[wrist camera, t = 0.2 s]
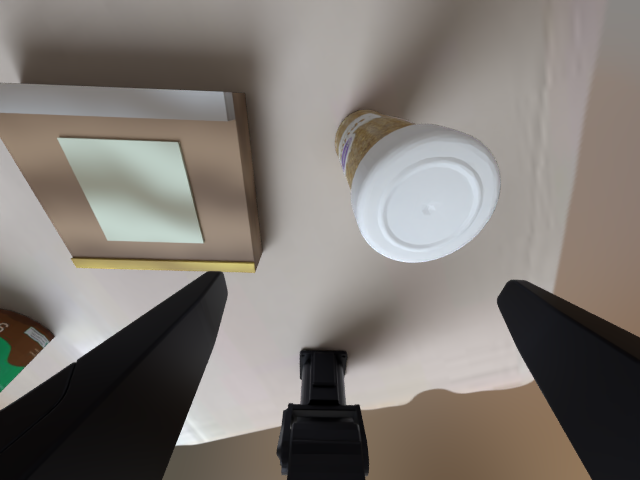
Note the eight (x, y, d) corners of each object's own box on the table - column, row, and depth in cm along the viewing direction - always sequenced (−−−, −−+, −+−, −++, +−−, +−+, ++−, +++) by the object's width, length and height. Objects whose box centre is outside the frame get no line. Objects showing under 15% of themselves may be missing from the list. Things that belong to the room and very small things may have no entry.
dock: (262, 253, 24) (251, 282, 21) (104, 248, 24) (63, 277, 20) (245, 93, 17) (223, 91, 13) (20, 84, 17) (-69, 79, 13)
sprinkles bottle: (332, 112, 18) (355, 139, 6) (393, 106, 18) (531, 120, 6) (336, 173, 20) (358, 272, 9) (390, 167, 20) (486, 262, 8)
